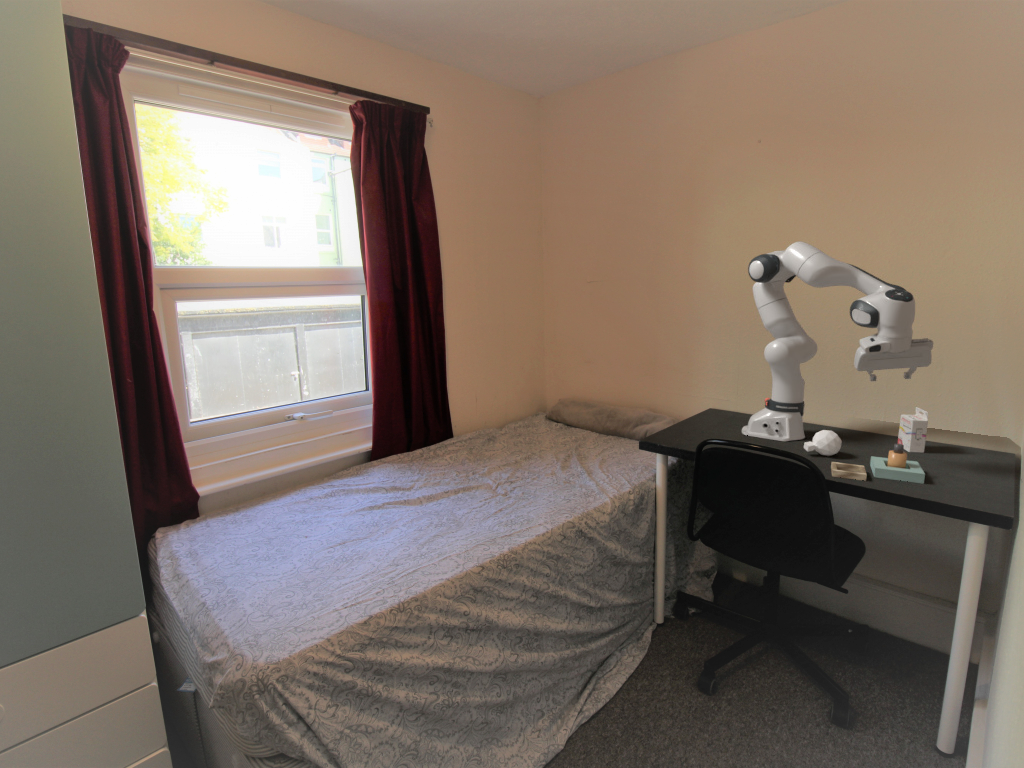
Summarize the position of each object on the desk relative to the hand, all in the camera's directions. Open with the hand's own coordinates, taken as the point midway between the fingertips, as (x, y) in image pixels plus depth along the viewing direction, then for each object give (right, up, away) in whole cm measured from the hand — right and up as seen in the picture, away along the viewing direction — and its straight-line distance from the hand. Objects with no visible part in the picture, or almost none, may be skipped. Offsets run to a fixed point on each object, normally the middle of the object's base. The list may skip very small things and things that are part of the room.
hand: (889, 379), depth 169 cm
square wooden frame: (-18, -30, -6) cm, 35 cm away
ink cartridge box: (+19, -25, +16) cm, 36 cm away
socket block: (-3, -30, -7) cm, 31 cm away
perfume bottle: (-15, -26, +13) cm, 33 cm away
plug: (-3, -30, -7) cm, 31 cm away
